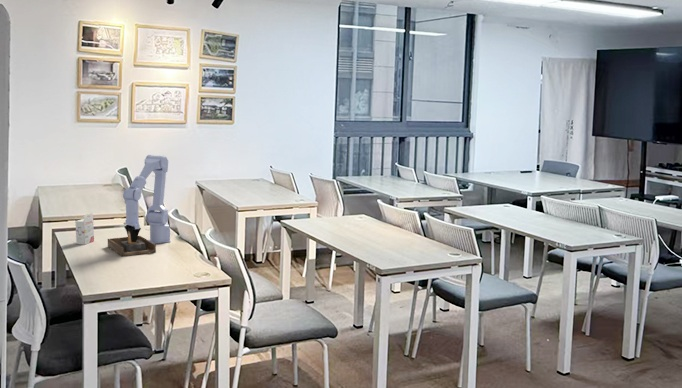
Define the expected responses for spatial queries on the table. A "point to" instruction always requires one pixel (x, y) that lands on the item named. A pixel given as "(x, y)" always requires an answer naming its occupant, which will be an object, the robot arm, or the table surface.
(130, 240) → the plug
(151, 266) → the table surface
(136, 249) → the brown wooden box
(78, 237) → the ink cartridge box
